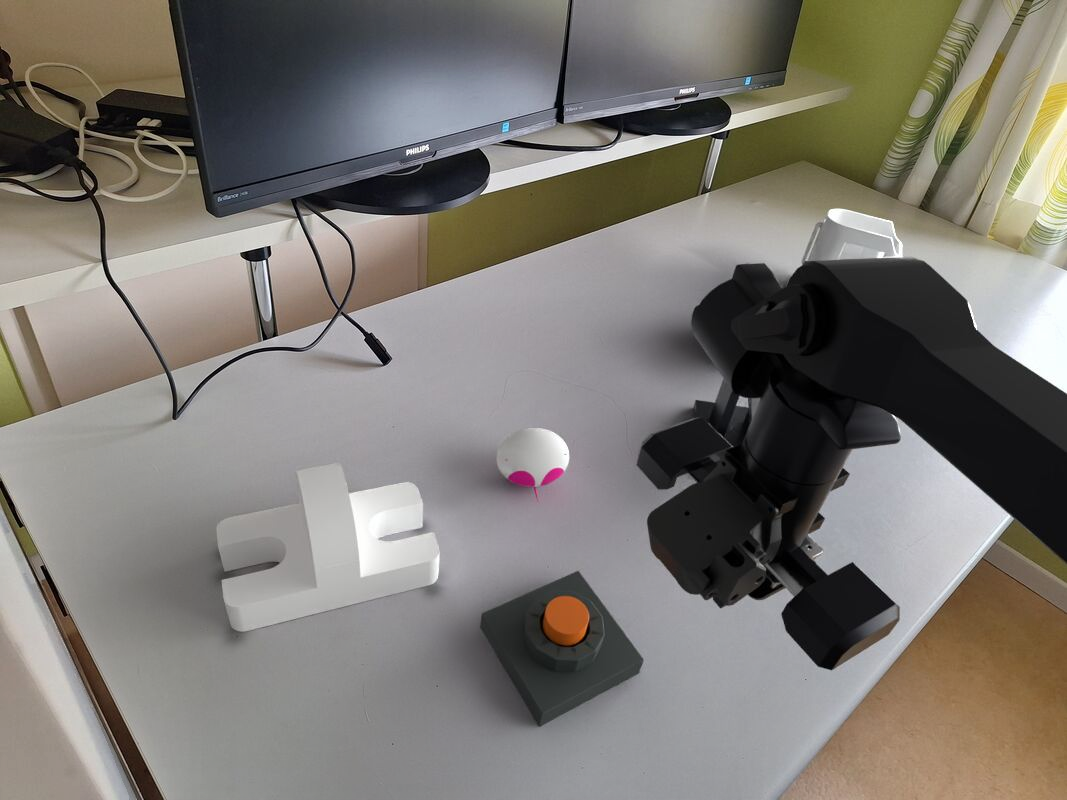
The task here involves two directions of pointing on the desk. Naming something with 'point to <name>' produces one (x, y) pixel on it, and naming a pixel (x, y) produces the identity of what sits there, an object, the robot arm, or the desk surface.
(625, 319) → the desk surface
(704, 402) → the bracket
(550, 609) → the button
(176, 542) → the desk surface
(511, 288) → the desk surface
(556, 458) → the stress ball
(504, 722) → the desk surface
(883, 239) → the white plastic holder
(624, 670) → the button box
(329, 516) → the white slotted mount
